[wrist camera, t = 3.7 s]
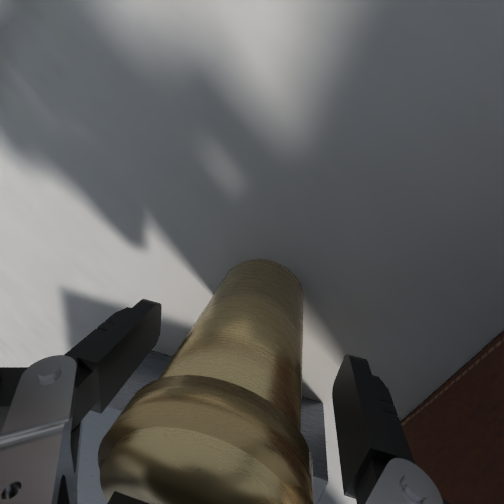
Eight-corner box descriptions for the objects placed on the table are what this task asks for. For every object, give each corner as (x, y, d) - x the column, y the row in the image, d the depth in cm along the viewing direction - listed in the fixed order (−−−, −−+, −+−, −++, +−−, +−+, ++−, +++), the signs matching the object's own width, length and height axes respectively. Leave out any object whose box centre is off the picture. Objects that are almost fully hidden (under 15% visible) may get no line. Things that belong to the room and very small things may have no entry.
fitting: (223, 243, 13) (79, 398, 5) (321, 267, 12) (350, 491, 4) (211, 322, 15) (94, 530, 7) (296, 346, 14) (281, 606, 6)
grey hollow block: (112, 339, 17) (58, 389, 13) (323, 403, 15) (328, 481, 12) (116, 449, 22) (77, 510, 18) (279, 508, 20) (273, 587, 16)
